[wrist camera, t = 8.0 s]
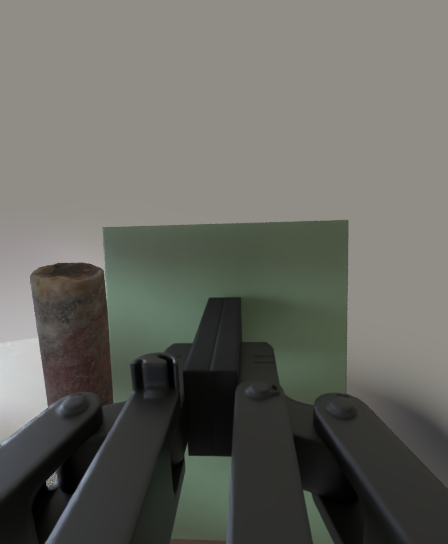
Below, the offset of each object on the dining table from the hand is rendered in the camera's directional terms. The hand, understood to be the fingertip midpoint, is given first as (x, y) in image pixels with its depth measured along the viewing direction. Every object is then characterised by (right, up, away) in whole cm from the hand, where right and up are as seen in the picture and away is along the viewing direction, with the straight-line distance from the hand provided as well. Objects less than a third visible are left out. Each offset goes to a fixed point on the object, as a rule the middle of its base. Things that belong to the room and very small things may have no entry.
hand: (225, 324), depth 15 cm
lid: (0, -3, +2) cm, 4 cm away
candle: (-16, -17, +24) cm, 33 cm away
